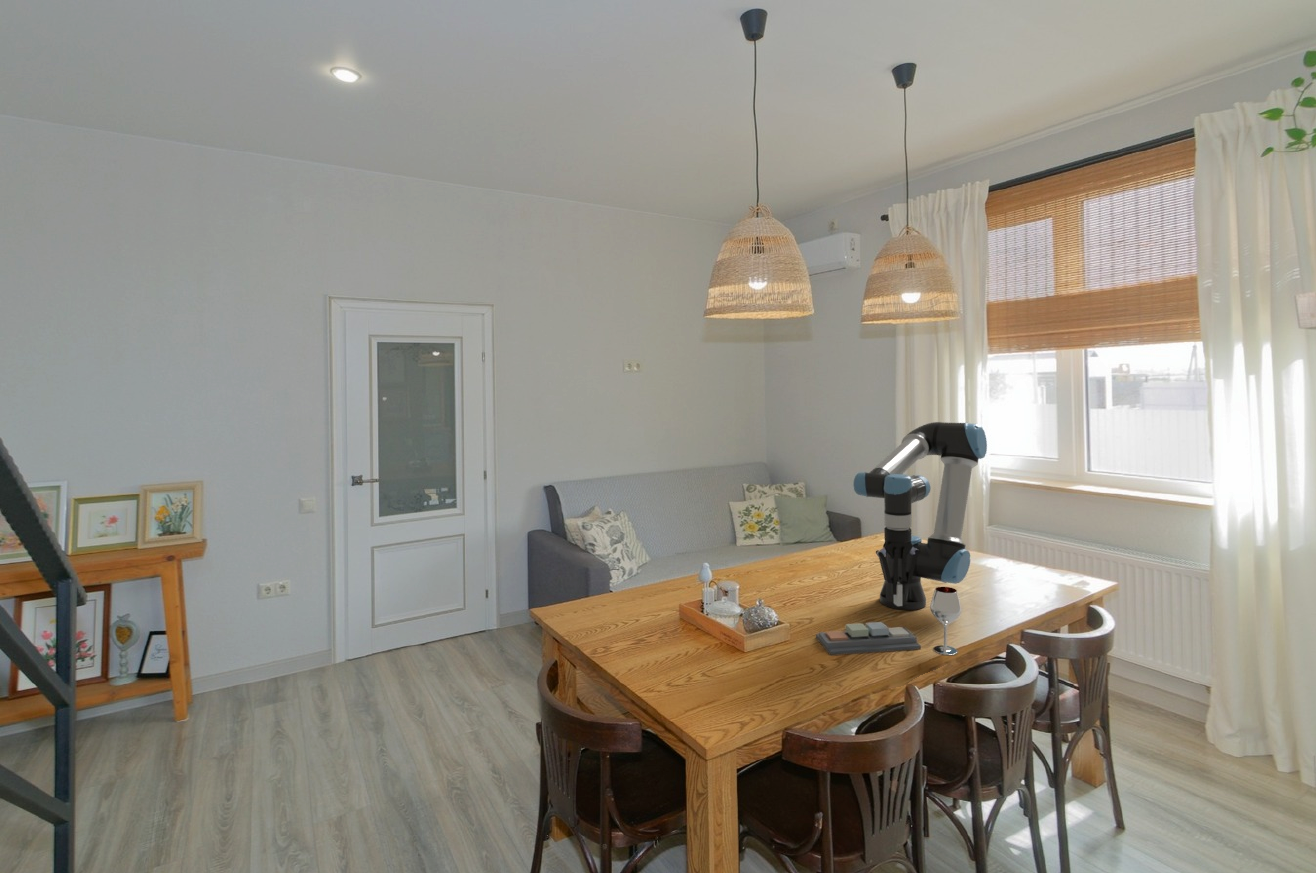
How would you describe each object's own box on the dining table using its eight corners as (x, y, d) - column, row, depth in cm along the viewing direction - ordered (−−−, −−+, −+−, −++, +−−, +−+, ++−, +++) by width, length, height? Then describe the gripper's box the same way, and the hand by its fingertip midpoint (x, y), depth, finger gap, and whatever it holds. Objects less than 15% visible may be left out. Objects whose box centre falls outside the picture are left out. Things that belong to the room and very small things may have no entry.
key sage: (861, 629, 202) (861, 623, 202) (868, 635, 197) (868, 629, 197) (845, 630, 202) (845, 624, 202) (851, 637, 197) (851, 630, 197)
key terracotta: (841, 637, 202) (841, 630, 202) (847, 643, 197) (847, 637, 197) (825, 638, 202) (825, 631, 201) (831, 644, 197) (831, 638, 197)
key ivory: (901, 633, 204) (901, 627, 203) (909, 639, 199) (909, 633, 198) (885, 634, 203) (885, 628, 203) (892, 640, 198) (892, 634, 198)
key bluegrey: (881, 628, 203) (881, 621, 203) (888, 634, 198) (888, 628, 198) (865, 629, 203) (865, 622, 202) (872, 635, 198) (872, 629, 197)
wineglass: (942, 658, 189) (943, 595, 187) (923, 646, 196) (924, 587, 195) (967, 654, 191) (968, 592, 189) (947, 643, 199) (948, 583, 197)
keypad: (900, 631, 208) (901, 624, 208) (920, 648, 195) (920, 640, 195) (815, 637, 206) (815, 629, 205) (830, 654, 193) (830, 646, 192)
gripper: (913, 522, 202) (913, 598, 204) (871, 525, 201) (871, 601, 203) (925, 528, 194) (925, 607, 197) (881, 531, 193) (882, 610, 196)
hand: (897, 604), depth 200 cm, fingers closed
